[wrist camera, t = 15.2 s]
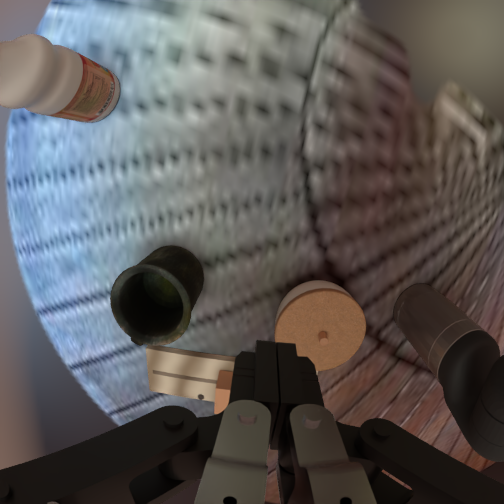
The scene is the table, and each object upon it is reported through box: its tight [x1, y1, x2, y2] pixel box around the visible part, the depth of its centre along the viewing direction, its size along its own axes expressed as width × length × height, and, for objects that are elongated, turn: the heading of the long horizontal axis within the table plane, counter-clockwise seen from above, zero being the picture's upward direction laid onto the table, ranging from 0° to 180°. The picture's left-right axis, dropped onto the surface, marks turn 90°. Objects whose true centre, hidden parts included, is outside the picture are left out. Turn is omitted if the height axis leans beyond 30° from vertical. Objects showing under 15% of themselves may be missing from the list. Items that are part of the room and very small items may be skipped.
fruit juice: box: [0, 34, 120, 123], centre depth 27 cm, size 9×9×28 cm
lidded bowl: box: [275, 280, 366, 371], centre depth 43 cm, size 13×13×11 cm
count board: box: [146, 345, 318, 402], centre depth 52 cm, size 30×10×2 cm, turn 84°
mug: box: [110, 246, 204, 346], centre depth 43 cm, size 11×15×12 cm
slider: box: [214, 370, 233, 414], centre depth 49 cm, size 5×6×5 cm
